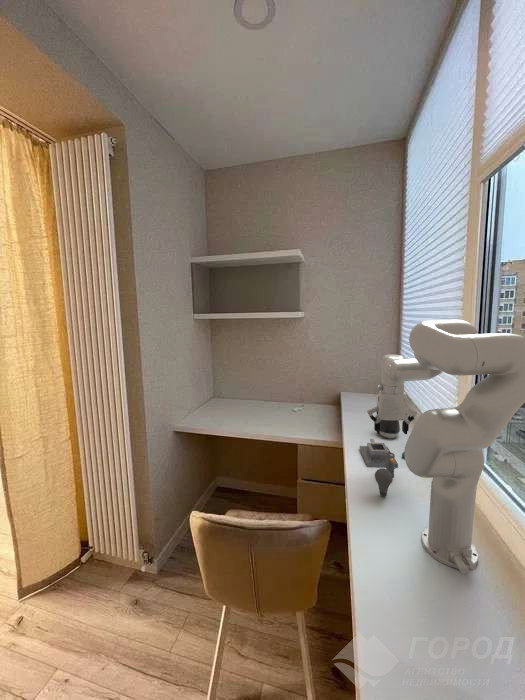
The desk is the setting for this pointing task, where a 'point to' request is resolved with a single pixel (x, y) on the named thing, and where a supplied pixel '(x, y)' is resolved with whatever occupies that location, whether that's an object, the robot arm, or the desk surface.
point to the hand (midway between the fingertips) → (391, 432)
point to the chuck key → (390, 462)
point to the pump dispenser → (389, 428)
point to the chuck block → (375, 454)
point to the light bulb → (383, 480)
